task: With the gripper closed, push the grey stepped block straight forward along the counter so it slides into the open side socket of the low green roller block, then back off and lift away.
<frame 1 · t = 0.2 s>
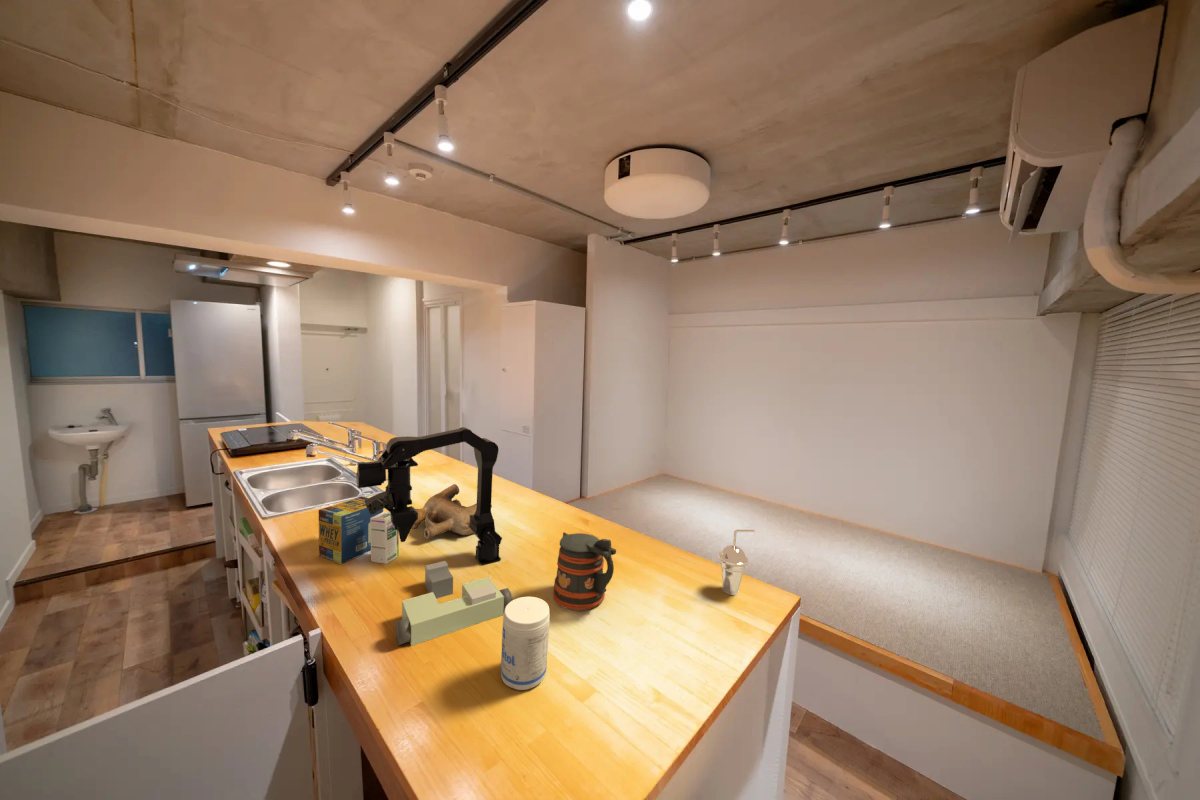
hand: (399, 535, 116), 14 cm above the counter, fingers open, 9 cm apart
supplement tub: (524, 675, 86), on the counter
green roller block: (454, 618, 103), on the counter
protein box: (352, 551, 134), on the counter
tan knobby branched lump: (446, 528, 156), on the counter
grey stepped block: (438, 590, 115), on the counter
cup with straw: (731, 591, 122), on the counter
syrup box: (384, 559, 130), on the counter
beer stein: (584, 599, 114), on the counter
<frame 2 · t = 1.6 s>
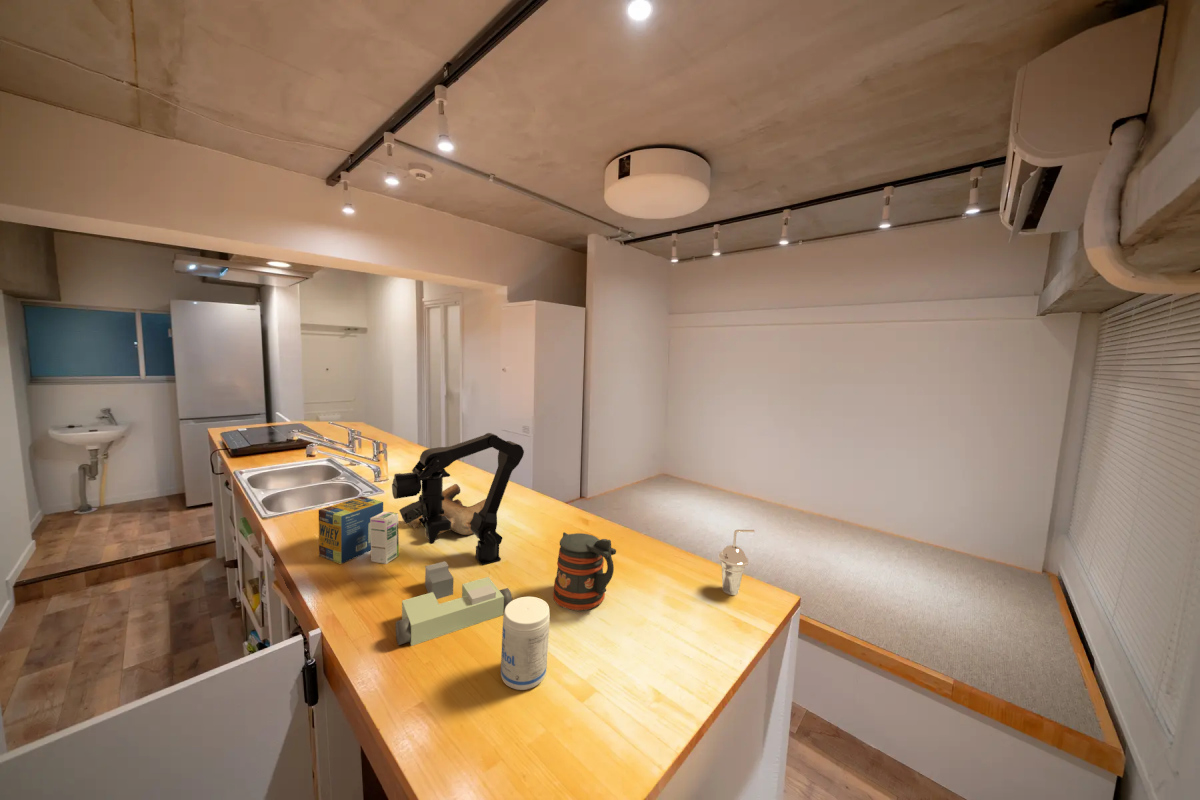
hand: (431, 543, 121), 10 cm above the counter, fingers closed
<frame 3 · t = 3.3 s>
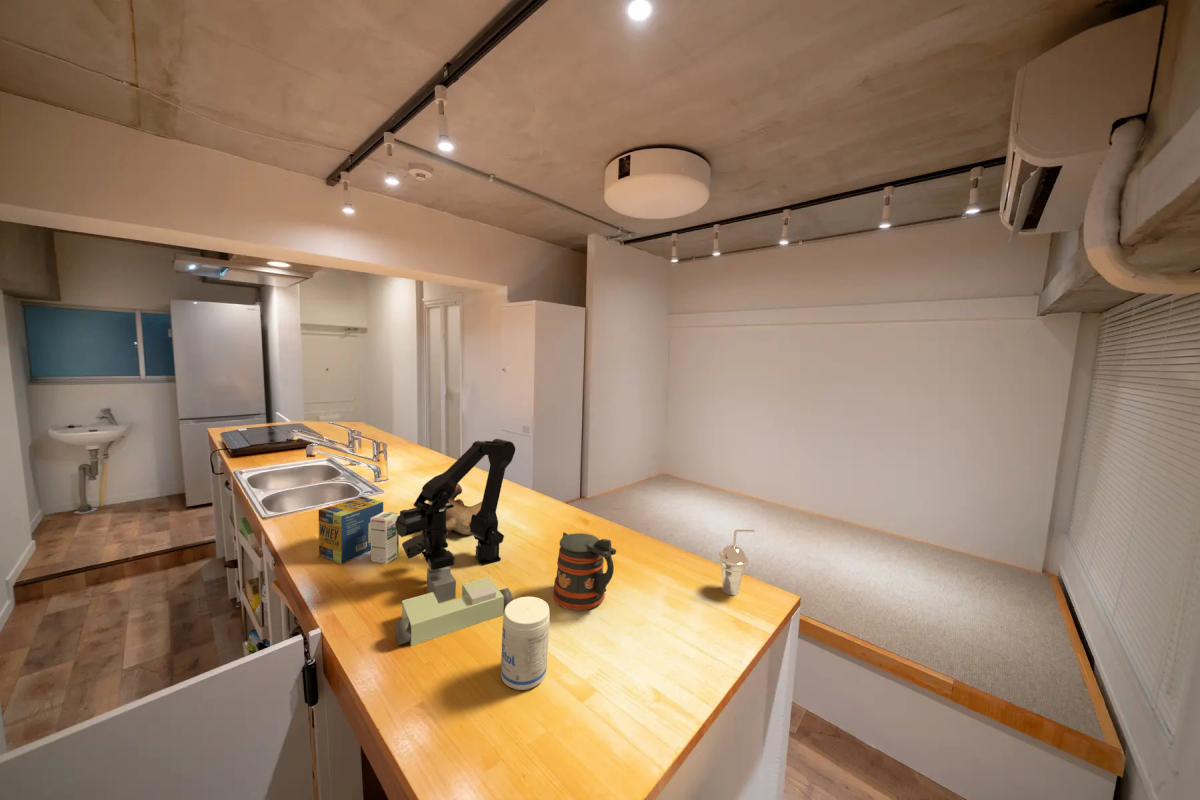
hand: (434, 577, 118), 2 cm above the counter, fingers closed
grey stepped block: (440, 594, 113), on the counter, touching gripper
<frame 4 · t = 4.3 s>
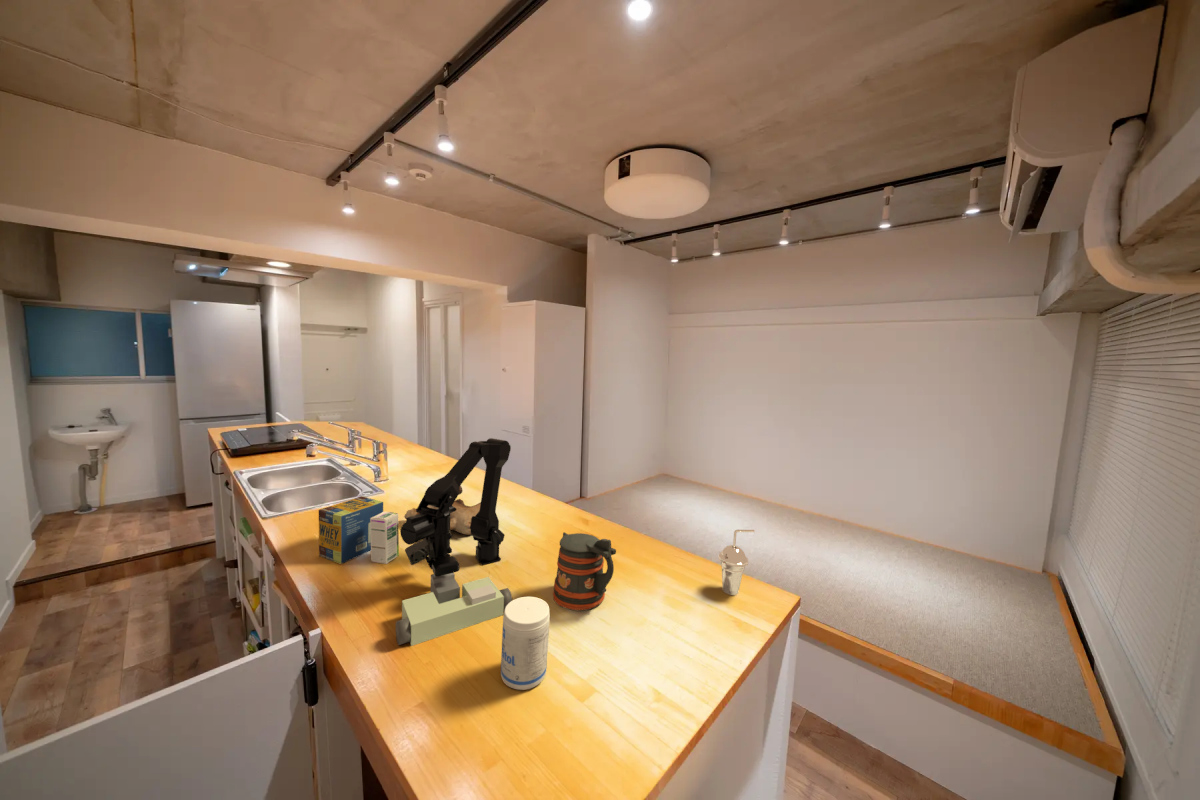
hand: (438, 583, 115), 2 cm above the counter, fingers closed
grey stepped block: (444, 600, 110), on the counter, touching gripper
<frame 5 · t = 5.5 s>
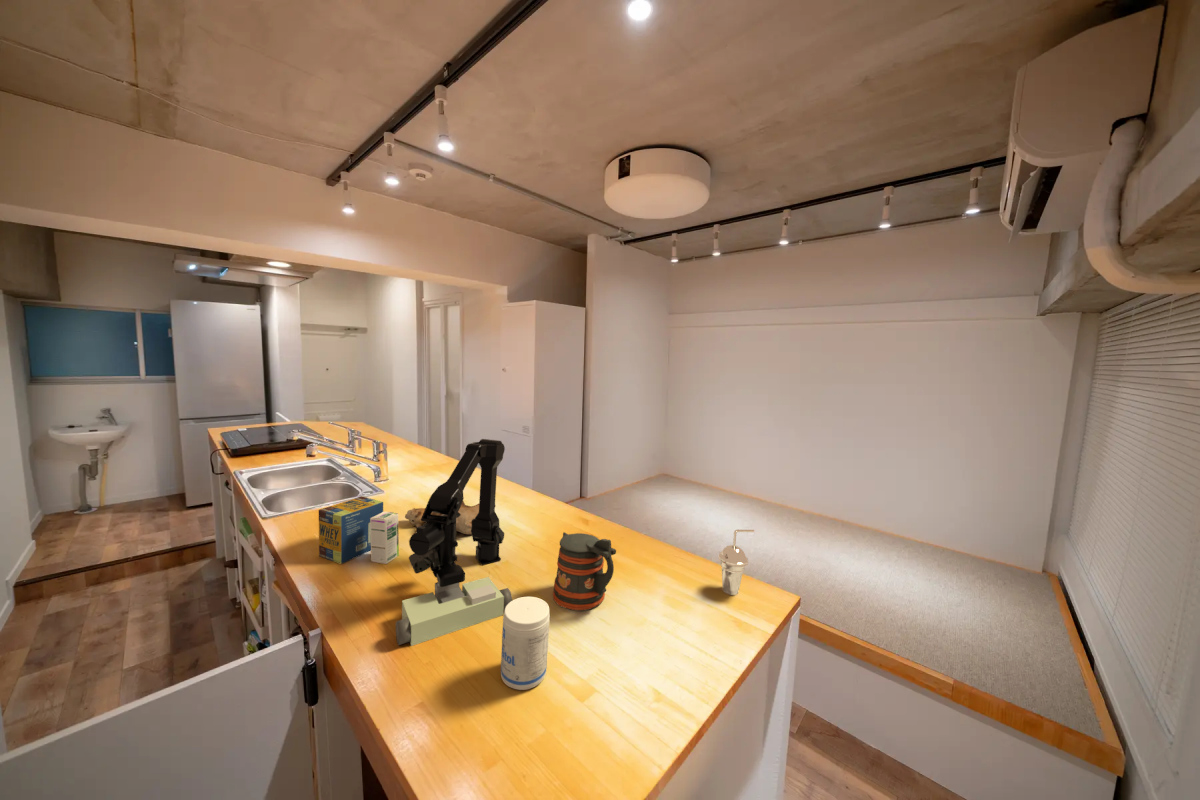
hand: (442, 591, 111), 2 cm above the counter, fingers closed
grey stepped block: (449, 610, 106), on the counter, touching gripper, green roller block
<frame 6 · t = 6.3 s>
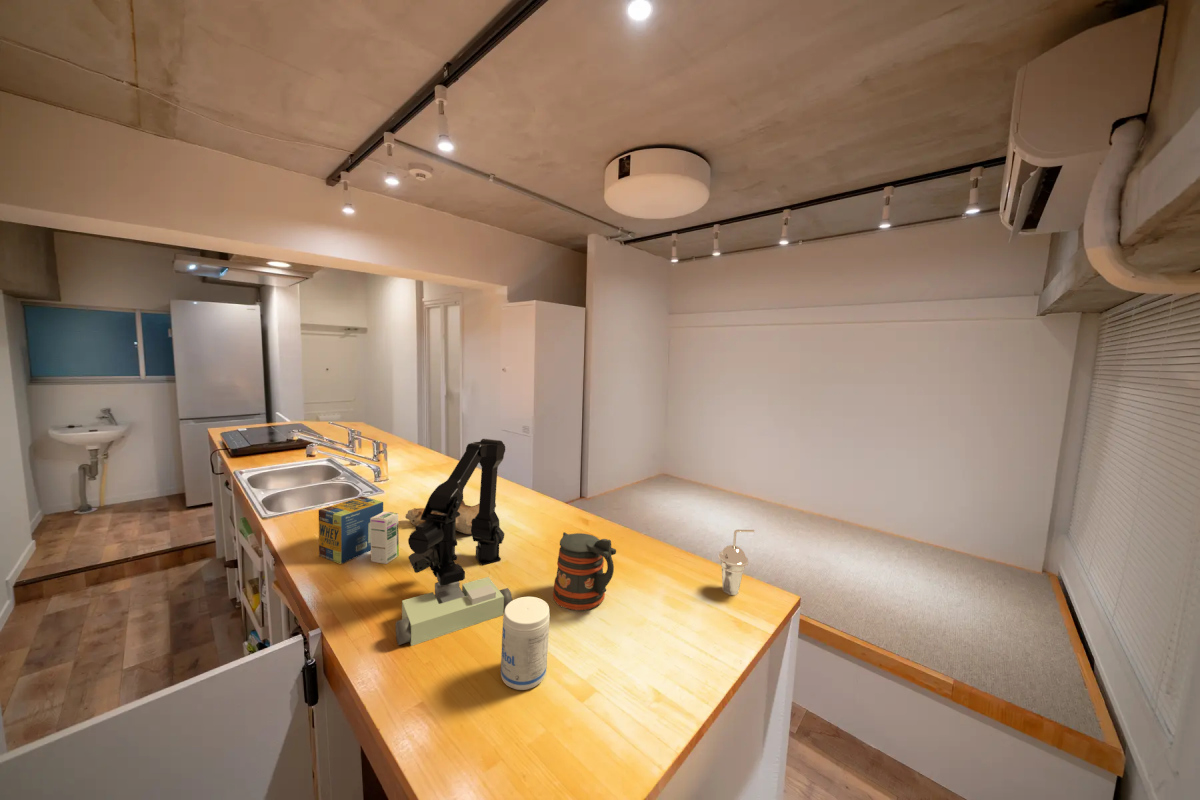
hand: (442, 591, 111), 2 cm above the counter, fingers closed
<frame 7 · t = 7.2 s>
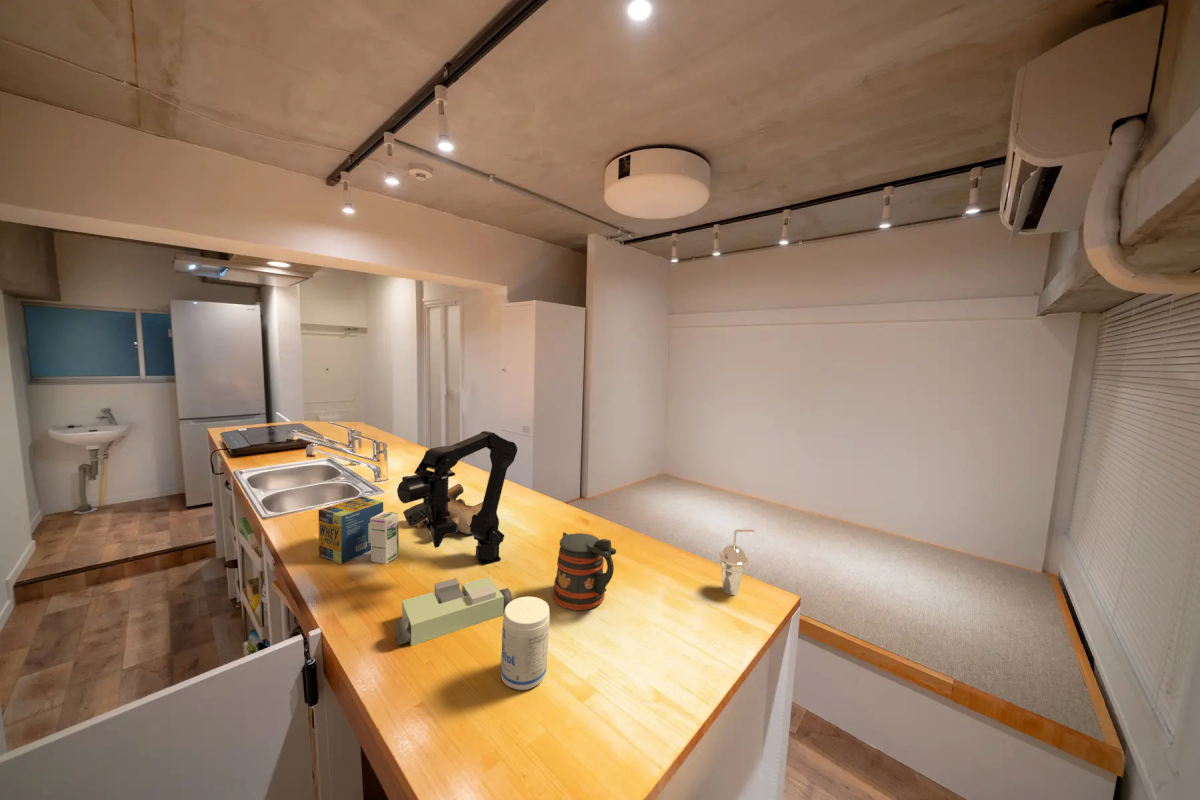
hand: (436, 547, 116), 11 cm above the counter, fingers closed
grey stepped block: (449, 610, 106), on the counter, touching green roller block
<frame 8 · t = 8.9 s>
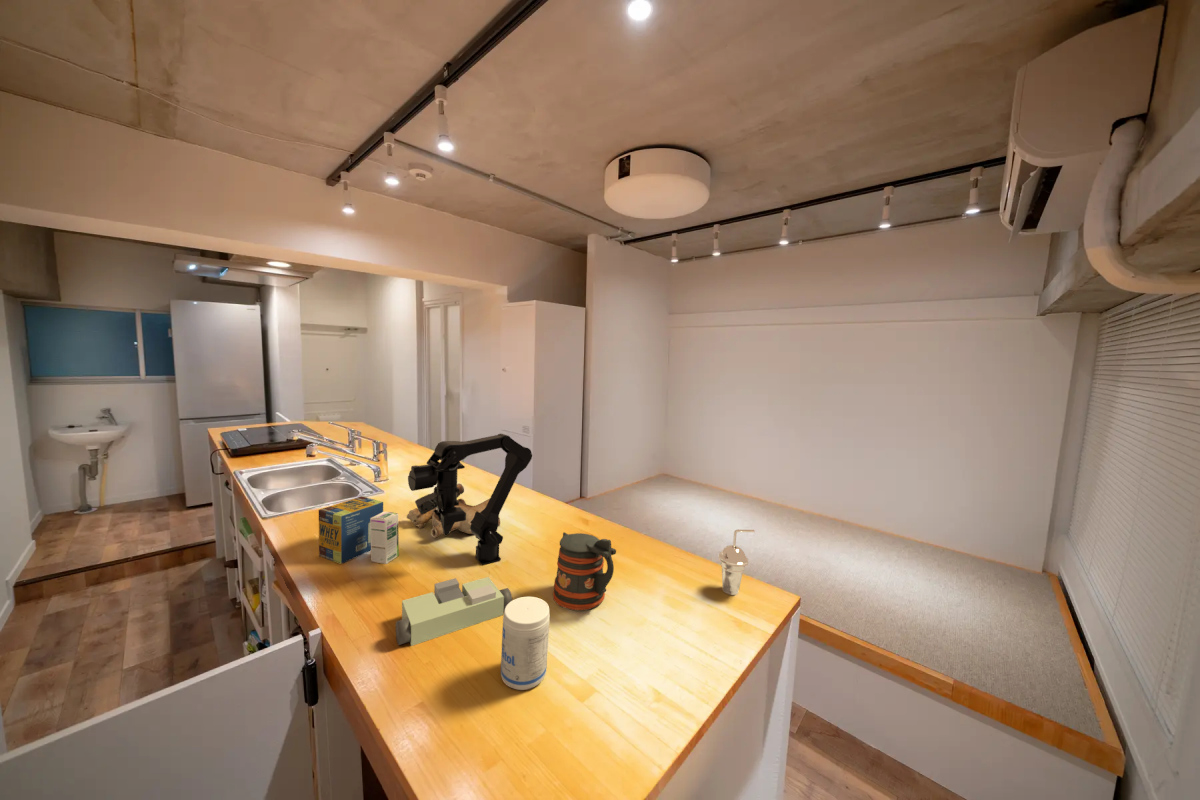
hand: (446, 534, 122), 12 cm above the counter, fingers closed
grey stepped block: (449, 610, 106), on the counter
at the end: grey stepped block 1.0 cm from the target spot on the green roller block, point 0.0 cm above the green roller block's base; grey stepped block tilted 0° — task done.
